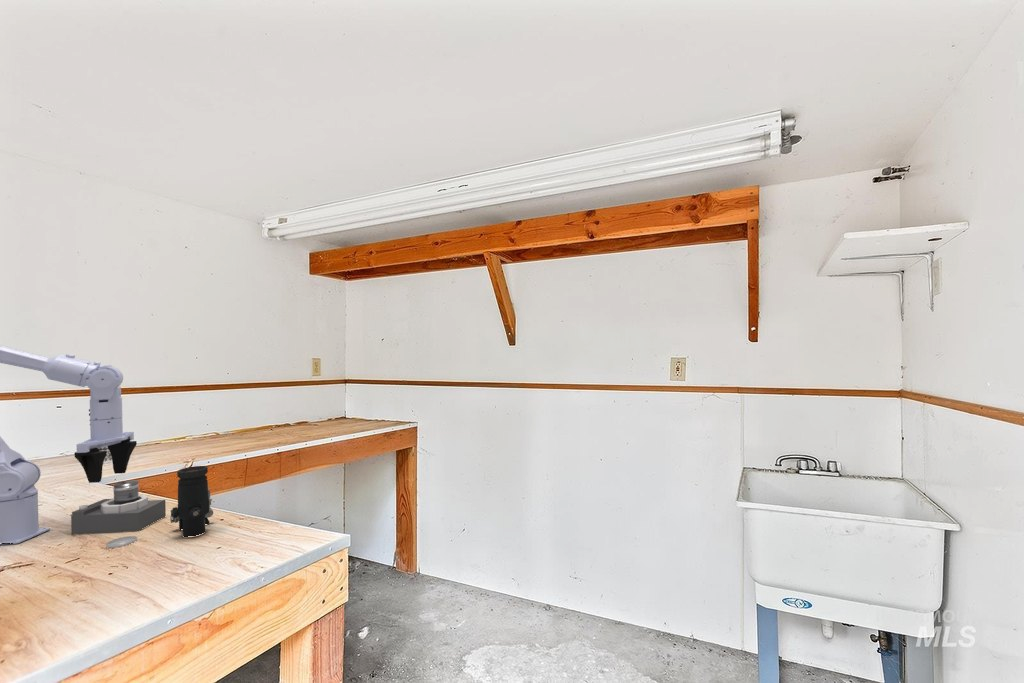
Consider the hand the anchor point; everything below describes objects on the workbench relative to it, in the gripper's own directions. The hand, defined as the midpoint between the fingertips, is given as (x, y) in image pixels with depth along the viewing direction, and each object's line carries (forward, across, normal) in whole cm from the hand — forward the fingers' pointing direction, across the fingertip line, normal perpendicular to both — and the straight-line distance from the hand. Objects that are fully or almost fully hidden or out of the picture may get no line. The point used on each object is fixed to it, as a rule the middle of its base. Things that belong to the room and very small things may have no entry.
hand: (107, 477), depth 112 cm
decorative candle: (+11, +69, +51) cm, 86 cm away
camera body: (+10, -2, -5) cm, 12 cm away
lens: (+6, -2, -5) cm, 9 cm away
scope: (+11, -9, -24) cm, 28 cm away
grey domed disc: (+11, -13, -12) cm, 21 cm away
